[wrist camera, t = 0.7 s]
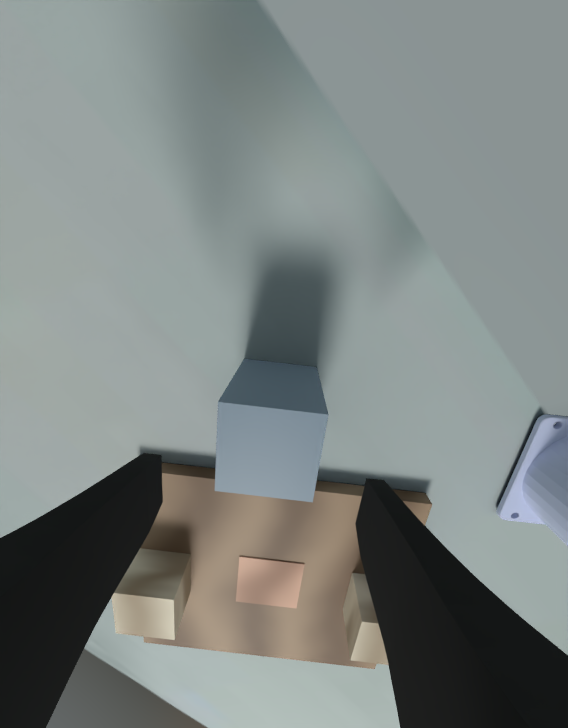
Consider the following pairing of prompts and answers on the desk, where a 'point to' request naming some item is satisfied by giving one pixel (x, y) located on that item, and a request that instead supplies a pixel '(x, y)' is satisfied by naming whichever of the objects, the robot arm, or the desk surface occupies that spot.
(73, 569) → the robot arm
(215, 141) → the desk surface
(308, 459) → the slate block
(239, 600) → the wooden board
